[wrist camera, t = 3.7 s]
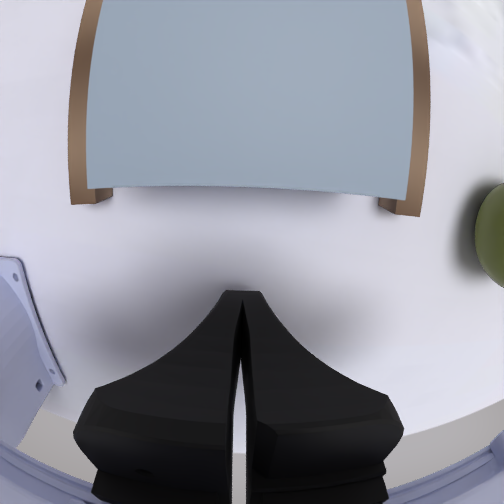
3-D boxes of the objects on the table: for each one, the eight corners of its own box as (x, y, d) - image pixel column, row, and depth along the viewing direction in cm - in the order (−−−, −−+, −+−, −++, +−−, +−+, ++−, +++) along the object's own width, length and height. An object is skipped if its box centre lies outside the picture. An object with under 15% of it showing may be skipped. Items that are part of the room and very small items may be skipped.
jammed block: (352, 178, 10) (405, 200, 6) (140, 171, 10) (87, 189, 6) (357, 36, 8) (405, -3, 4) (149, 27, 8) (107, -17, 4)
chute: (401, 207, 11) (419, 217, 9) (89, 196, 10) (70, 204, 9) (404, 4, 7) (419, -7, 6) (106, -9, 7) (92, -22, 5)
